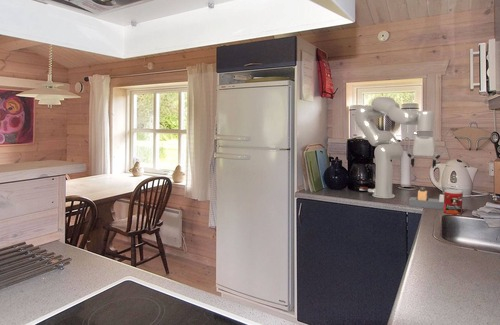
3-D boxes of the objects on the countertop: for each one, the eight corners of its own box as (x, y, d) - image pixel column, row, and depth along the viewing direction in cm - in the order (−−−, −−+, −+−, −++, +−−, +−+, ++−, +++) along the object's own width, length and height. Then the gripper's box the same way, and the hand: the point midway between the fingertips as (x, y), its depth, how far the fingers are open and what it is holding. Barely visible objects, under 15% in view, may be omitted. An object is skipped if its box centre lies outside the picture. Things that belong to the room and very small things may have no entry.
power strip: (408, 206, 180) (409, 194, 180) (410, 203, 187) (410, 191, 187) (452, 210, 170) (453, 197, 170) (452, 207, 177) (453, 194, 176)
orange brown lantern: (417, 206, 180) (418, 187, 179) (418, 204, 183) (418, 186, 182) (426, 207, 178) (426, 188, 177) (426, 205, 181) (427, 187, 180)
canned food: (444, 214, 163) (445, 191, 162) (442, 210, 170) (443, 188, 169) (463, 215, 160) (464, 192, 159) (460, 211, 167) (461, 189, 166)
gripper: (405, 134, 179) (404, 166, 181) (443, 135, 170) (441, 168, 172) (407, 134, 186) (406, 165, 188) (444, 134, 177) (442, 167, 179)
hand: (423, 167), depth 180 cm, fingers open, 9 cm apart
